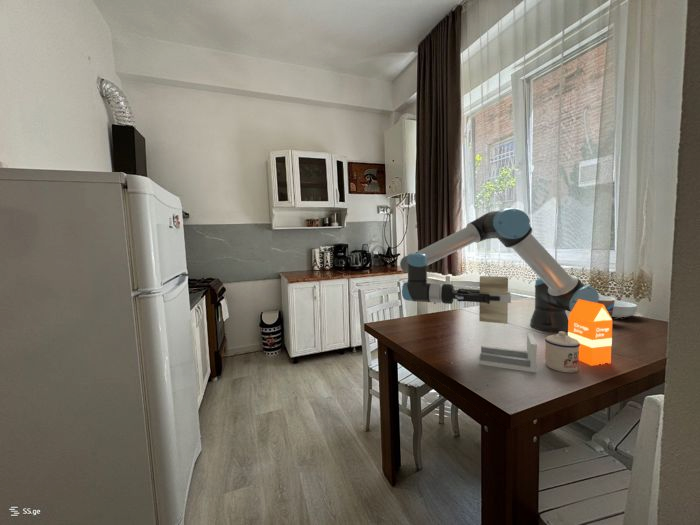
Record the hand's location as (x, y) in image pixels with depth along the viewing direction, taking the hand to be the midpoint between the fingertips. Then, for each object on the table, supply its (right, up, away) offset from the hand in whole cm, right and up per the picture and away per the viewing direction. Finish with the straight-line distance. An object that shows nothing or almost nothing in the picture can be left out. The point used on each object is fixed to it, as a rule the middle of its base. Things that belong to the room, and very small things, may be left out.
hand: (510, 297), depth 103 cm
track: (-3, -22, -3) cm, 22 cm away
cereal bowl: (+77, -15, +44) cm, 90 cm away
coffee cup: (+62, -16, +35) cm, 73 cm away
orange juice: (+25, -21, -3) cm, 33 cm away
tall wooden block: (-4, -9, +3) cm, 10 cm away
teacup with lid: (+13, -22, -8) cm, 27 cm away
